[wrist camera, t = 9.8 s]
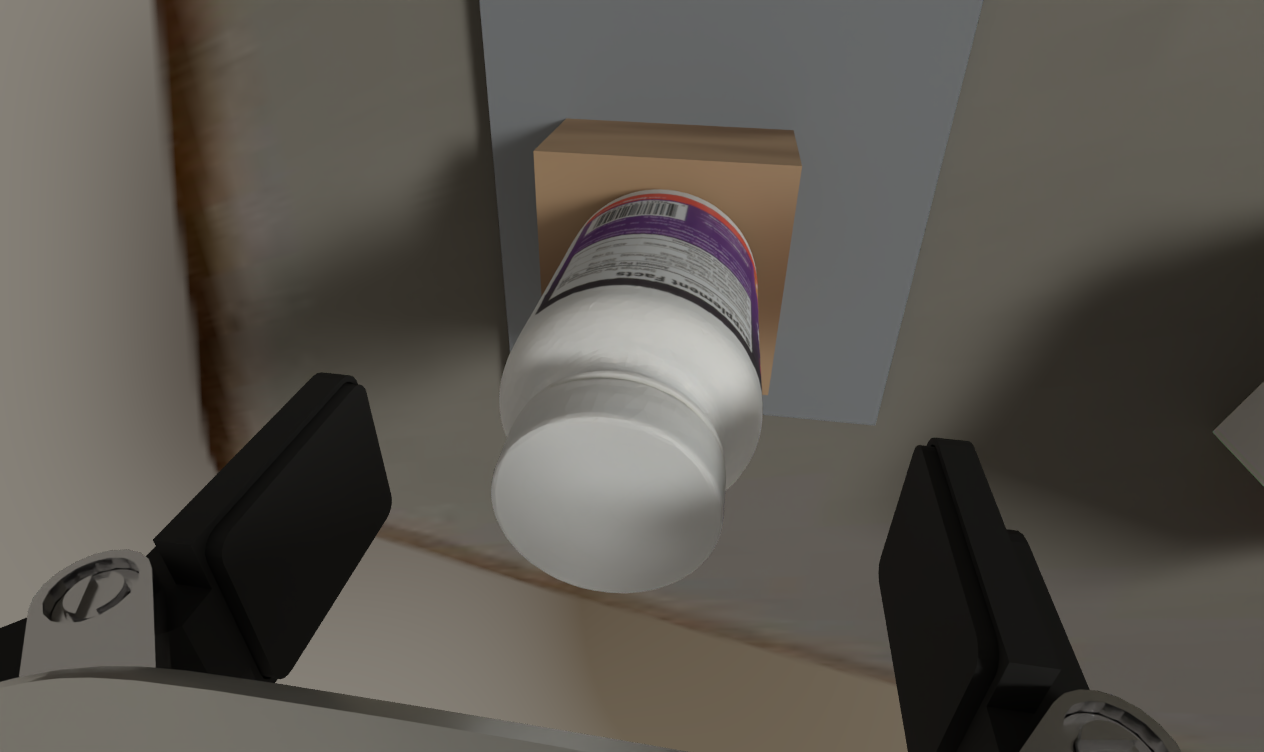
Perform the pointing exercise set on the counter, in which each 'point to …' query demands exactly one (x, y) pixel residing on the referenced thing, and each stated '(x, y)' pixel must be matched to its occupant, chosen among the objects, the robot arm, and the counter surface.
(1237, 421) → the puzzle toy
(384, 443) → the counter surface
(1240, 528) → the counter surface
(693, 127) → the base block
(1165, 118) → the counter surface
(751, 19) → the build mat
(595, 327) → the pill bottle
